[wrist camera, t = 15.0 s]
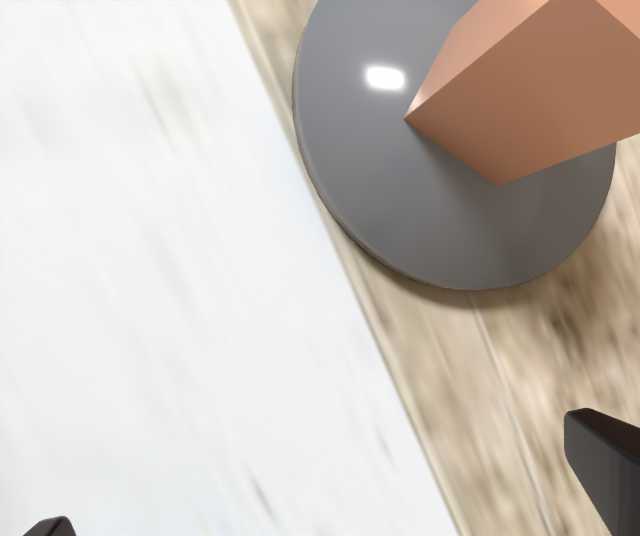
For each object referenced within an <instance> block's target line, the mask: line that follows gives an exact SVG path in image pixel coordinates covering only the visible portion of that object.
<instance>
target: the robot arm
mask: <svg viewBox="0 0 640 536" xmlns="http://www.w3.org/2000/svg"><path fill="white" fill-rule="evenodd" d="M564 451H565V455H566V458H567V461H568V463H569V465H570V466H571V468H572V470H573V471H574V473H575V475H576V476H577V478H578V480H579V481H580V483H581V485H582V486H583V488H584V490H585V491H586V493H587V495H588V496H589V498H590V500H591V501H592V503H593V505H594V506H595V508H596V510H597V512H598V513H599V515H600V517H601V518H602V520H603V522H604V523H605V525H606V527H607V528H608V530H609V532H610V533H611V535H612V536H640V428H639V427H636V426H634V425H631V424H629V423H626V422H623V421H621V420H618V419H616V418H613V417H611V416H608V415H606V414H603V413H601V412H598V411H596V410H593V409H590V408H582V409H578V410H573V411H568V412H567V413H566V414H565V416H564ZM23 536H76V533H75V531H74V529H73V526H72V524H71V522H70V520H69V519H68V518H67V517H65V516H59V517H54V518H49V519H44V520H42V521H40V522H38V523H37V524H36V525H35V526H33V527H32V528H31V529H30V530H29V531H28V532H27V533H25V534H24V535H23Z"/></svg>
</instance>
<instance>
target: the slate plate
mask: <svg viewBox="0 0 640 536" xmlns="http://www.w3.org/2000/svg"><path fill="white" fill-rule="evenodd" d="M478 1H479V0H318V2H317V4H316V6H315V8H314V10H313V12H312V14H311V16H310V18H309V20H308V22H307V24H306V26H305V29H304V31H303V34H302V37H301V40H300V43H299V46H298V49H297V53H296V59H295V64H294V70H293V79H292V109H293V120H294V127H295V131H296V136H297V141H298V145H299V149H300V152H301V155H302V158H303V161H304V164H305V166H306V169H307V172H308V174H309V176H310V178H311V180H312V182H313V184H314V186H315V189H316V191H317V193H318V195H319V196H320V198H321V199H322V201H323V203H324V204H325V206H326V207H327V209H328V210H329V212H330V213H331V215H332V216H333V218H334V219H335V220H336V221H337V222H338V224H339V225H340V226H341V227H342V228H343V229H344V231H345V232H346V233H347V234H348V235H349V236H350V237H351V238H352V239H353V240H354V241H355V242H356V243H357V244H358V245H359V246H360V247H361V248H363V249H364V250H365V251H366V252H367V253H368V254H370V255H371V256H372V257H374V258H375V259H377V260H378V261H379V262H381V263H382V264H384V265H385V266H387V267H388V268H390V269H392V270H394V271H396V272H398V273H400V274H402V275H404V276H406V277H407V278H410V279H413V280H416V281H419V282H421V283H424V284H427V285H431V286H436V287H440V288H445V289H453V290H485V289H495V288H505V287H509V286H513V285H517V284H521V283H524V282H527V281H529V280H531V279H534V278H536V277H538V276H541V275H543V274H544V273H546V272H547V271H549V270H551V269H552V268H554V267H555V266H557V265H558V264H560V263H561V262H562V261H563V260H564V259H565V258H567V257H568V256H569V255H570V254H571V253H572V252H573V251H574V250H575V249H576V248H577V247H578V246H579V244H580V243H581V242H582V241H583V240H584V239H585V237H586V236H587V234H588V233H589V231H590V230H591V228H592V227H593V225H594V223H595V222H596V220H597V218H598V216H599V214H600V212H601V210H602V207H603V205H604V203H605V200H606V197H607V194H608V191H609V188H610V185H611V180H612V175H613V170H614V165H615V155H616V142H614V143H612V144H609V145H606V146H604V147H601V148H598V149H596V150H593V151H590V152H588V153H585V154H582V155H580V156H577V157H574V158H571V159H569V160H566V161H563V162H561V163H558V164H555V165H553V166H550V167H547V168H545V169H542V170H539V171H537V172H534V173H531V174H529V175H526V176H523V177H520V178H518V179H515V180H512V181H510V182H507V183H504V184H502V185H499V186H496V185H494V184H493V183H492V182H490V181H489V180H488V179H486V178H485V177H483V176H482V175H481V174H479V173H478V172H476V171H475V170H474V169H472V168H471V167H469V166H468V165H467V164H465V163H464V162H463V161H461V160H460V159H458V158H457V157H456V156H454V155H453V154H451V153H450V152H449V151H447V150H446V149H444V148H443V147H442V146H440V145H439V144H438V143H436V142H435V141H433V140H432V139H431V138H429V137H428V136H426V135H425V134H424V133H422V132H421V131H419V130H418V129H417V128H415V127H414V126H413V125H411V124H410V123H408V122H407V121H406V120H404V119H403V118H404V117H405V115H406V113H407V111H408V109H409V107H410V105H411V104H412V102H413V100H414V98H415V96H416V94H417V93H418V91H419V89H420V87H421V85H422V83H423V81H424V80H425V78H426V76H427V74H428V72H429V70H430V69H431V67H432V65H433V63H434V61H435V59H436V57H437V56H438V54H439V52H440V50H441V48H442V46H443V44H444V43H445V41H446V39H447V37H448V35H449V33H450V32H451V30H452V28H453V26H454V25H455V24H456V23H457V22H458V21H459V20H460V19H461V18H462V17H463V16H464V15H465V14H466V13H467V12H468V11H469V10H470V9H471V8H472V7H473V6H474V5H475V4H476V3H477V2H478Z"/></svg>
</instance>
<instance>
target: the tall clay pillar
mask: <svg viewBox="0 0 640 536" xmlns="http://www.w3.org/2000/svg"><path fill="white" fill-rule="evenodd" d="M403 119H404V120H406V121H407V122H408V123H410V124H411V125H413V126H414V127H415V128H417V129H418V130H419V131H421V132H422V133H424V134H425V135H426V136H428V137H429V138H431V139H432V140H433V141H435V142H436V143H438V144H439V145H440V146H442V147H443V148H444V149H446V150H447V151H449V152H450V153H451V154H453V155H454V156H456V157H457V158H458V159H460V160H461V161H463V162H464V163H465V164H467V165H468V166H469V167H471V168H472V169H474V170H475V171H476V172H478V173H479V174H481V175H482V176H483V177H485V178H486V179H488V180H489V181H490V182H492V183H493V184H494V185H496V186H499V185H502V184H504V183H507V182H510V181H512V180H515V179H518V178H520V177H523V176H526V175H529V174H531V173H534V172H537V171H539V170H542V169H545V168H547V167H550V166H553V165H555V164H558V163H561V162H563V161H566V160H569V159H571V158H574V157H577V156H580V155H582V154H585V153H588V152H590V151H593V150H596V149H598V148H601V147H604V146H606V145H609V144H612V143H614V142H617V141H620V140H623V139H625V138H628V137H631V136H633V135H636V134H639V133H640V0H479V1H478V2H477V3H476V4H475V5H474V6H473V7H472V8H471V9H470V10H469V11H468V12H467V13H466V14H465V15H464V16H463V17H462V18H461V19H460V20H459V21H458V22H457V23H456V24H455V25H454V26H453V28H452V30H451V32H450V33H449V35H448V37H447V39H446V41H445V43H444V44H443V46H442V48H441V50H440V52H439V54H438V56H437V57H436V59H435V61H434V63H433V65H432V67H431V69H430V70H429V72H428V74H427V76H426V78H425V80H424V81H423V83H422V85H421V87H420V89H419V91H418V93H417V94H416V96H415V98H414V100H413V102H412V104H411V105H410V107H409V109H408V111H407V113H406V115H405V117H404V118H403Z"/></svg>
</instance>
